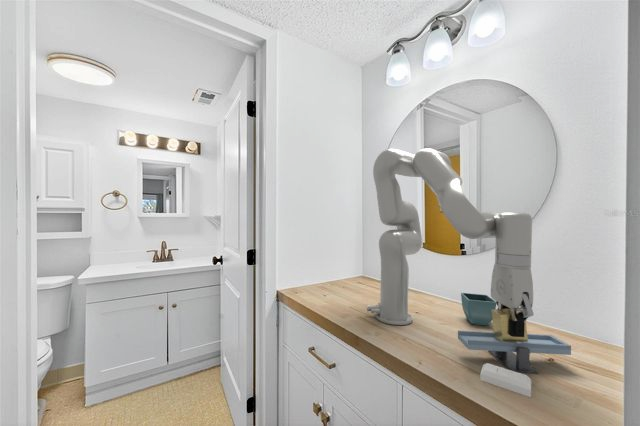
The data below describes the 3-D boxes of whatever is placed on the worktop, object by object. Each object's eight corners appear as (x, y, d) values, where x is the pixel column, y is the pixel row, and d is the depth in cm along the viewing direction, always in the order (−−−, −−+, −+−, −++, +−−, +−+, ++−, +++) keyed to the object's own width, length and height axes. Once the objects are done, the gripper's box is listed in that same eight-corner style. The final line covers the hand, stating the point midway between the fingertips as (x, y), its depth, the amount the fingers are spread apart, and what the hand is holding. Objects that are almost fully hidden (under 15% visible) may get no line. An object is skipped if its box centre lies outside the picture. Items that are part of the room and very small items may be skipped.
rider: (503, 343, 67) (500, 315, 67) (494, 336, 71) (491, 309, 71) (528, 341, 67) (525, 313, 67) (517, 334, 71) (514, 308, 71)
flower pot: (496, 329, 89) (497, 302, 90) (467, 326, 91) (468, 299, 91) (486, 319, 98) (486, 294, 98) (459, 316, 100) (460, 292, 100)
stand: (511, 372, 64) (512, 349, 64) (487, 351, 74) (488, 331, 74) (538, 373, 64) (538, 350, 64) (510, 352, 74) (510, 332, 74)
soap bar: (483, 372, 65) (483, 360, 65) (531, 387, 59) (531, 375, 59) (480, 381, 61) (480, 369, 61) (531, 399, 55) (531, 386, 55)
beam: (469, 350, 66) (470, 341, 66) (456, 337, 73) (457, 329, 73) (572, 356, 65) (572, 346, 65) (549, 342, 72) (549, 333, 72)
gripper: (480, 255, 78) (478, 319, 78) (519, 266, 61) (517, 347, 61) (507, 256, 77) (505, 320, 77) (554, 267, 61) (552, 349, 61)
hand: (510, 331), depth 69 cm, fingers closed on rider, 3 cm apart
